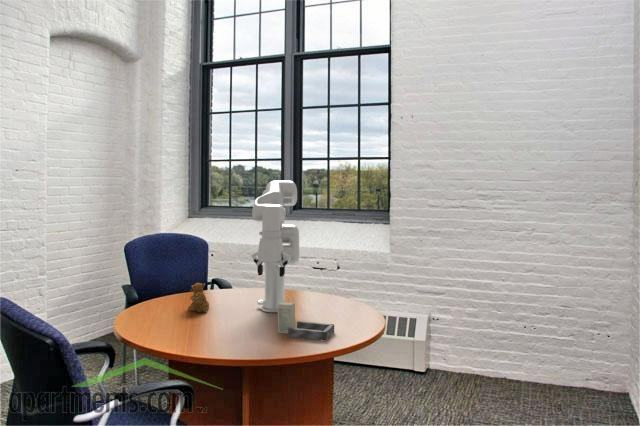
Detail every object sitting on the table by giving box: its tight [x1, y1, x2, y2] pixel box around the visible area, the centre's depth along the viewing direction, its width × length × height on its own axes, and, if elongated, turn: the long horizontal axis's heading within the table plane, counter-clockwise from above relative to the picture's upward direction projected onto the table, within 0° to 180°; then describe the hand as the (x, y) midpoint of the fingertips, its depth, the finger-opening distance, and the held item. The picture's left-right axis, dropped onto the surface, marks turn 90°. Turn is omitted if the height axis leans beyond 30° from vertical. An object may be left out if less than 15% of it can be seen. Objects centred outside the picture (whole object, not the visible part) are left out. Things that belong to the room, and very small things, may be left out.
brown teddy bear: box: [187, 282, 210, 313], centre depth 250 cm, size 10×14×13 cm
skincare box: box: [277, 301, 296, 335], centre depth 216 cm, size 6×4×12 cm
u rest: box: [287, 320, 335, 342], centre depth 213 cm, size 16×12×4 cm
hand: (271, 275), depth 218 cm, fingers open, 9 cm apart
